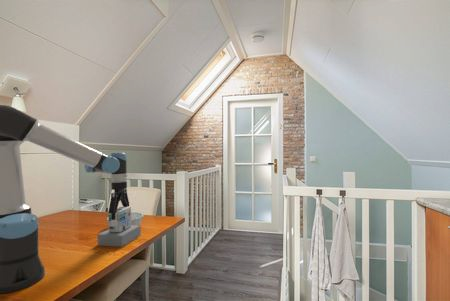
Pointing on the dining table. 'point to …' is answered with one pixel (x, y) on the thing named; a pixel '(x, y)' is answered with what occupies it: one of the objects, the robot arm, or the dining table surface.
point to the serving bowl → (135, 218)
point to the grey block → (119, 236)
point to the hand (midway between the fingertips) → (119, 222)
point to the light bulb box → (120, 219)
